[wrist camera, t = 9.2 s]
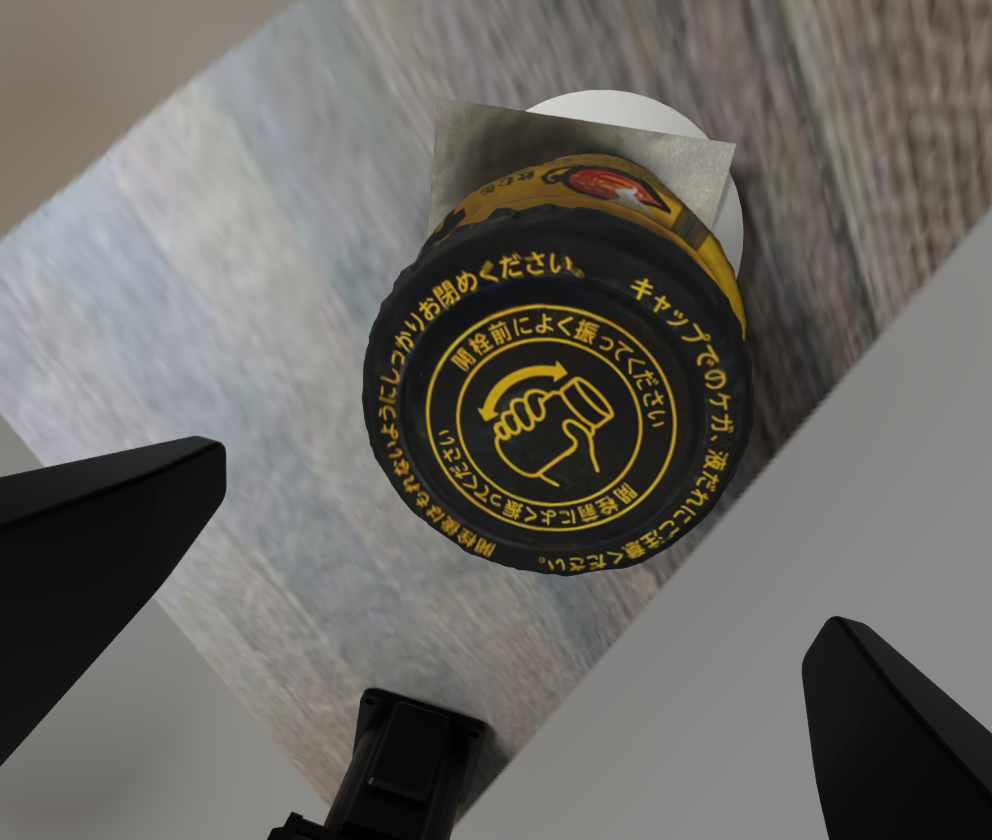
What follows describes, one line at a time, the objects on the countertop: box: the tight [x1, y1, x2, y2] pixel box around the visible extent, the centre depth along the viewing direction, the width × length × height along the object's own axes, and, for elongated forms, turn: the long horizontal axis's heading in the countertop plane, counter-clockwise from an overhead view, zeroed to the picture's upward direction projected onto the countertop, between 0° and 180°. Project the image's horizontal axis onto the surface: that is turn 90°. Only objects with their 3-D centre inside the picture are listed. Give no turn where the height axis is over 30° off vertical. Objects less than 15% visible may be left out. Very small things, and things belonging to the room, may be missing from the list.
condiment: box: [362, 98, 754, 576], centre depth 13 cm, size 7×8×12 cm
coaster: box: [526, 90, 743, 279], centre depth 18 cm, size 9×9×1 cm
